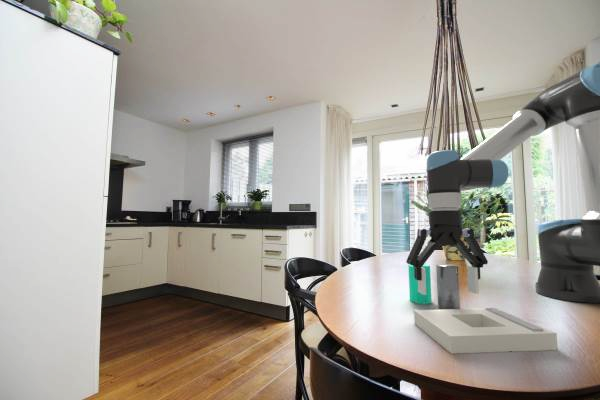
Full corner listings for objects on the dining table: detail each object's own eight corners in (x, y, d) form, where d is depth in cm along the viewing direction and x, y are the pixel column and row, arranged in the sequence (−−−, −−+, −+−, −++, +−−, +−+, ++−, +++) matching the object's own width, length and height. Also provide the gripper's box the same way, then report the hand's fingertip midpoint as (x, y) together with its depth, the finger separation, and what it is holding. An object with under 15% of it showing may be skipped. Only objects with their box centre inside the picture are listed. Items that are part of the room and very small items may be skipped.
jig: (498, 321, 63) (497, 306, 63) (557, 349, 49) (556, 330, 49) (414, 323, 62) (413, 308, 62) (451, 353, 48) (450, 333, 48)
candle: (434, 304, 76) (432, 261, 77) (411, 303, 77) (410, 260, 78) (428, 298, 82) (427, 258, 83) (407, 297, 83) (406, 257, 84)
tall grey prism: (452, 309, 71) (450, 263, 72) (465, 316, 66) (462, 267, 67) (434, 310, 71) (432, 264, 72) (445, 317, 66) (443, 267, 67)
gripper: (480, 210, 75) (484, 288, 73) (392, 210, 74) (394, 289, 72) (501, 209, 67) (506, 295, 66) (403, 209, 66) (406, 297, 65)
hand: (448, 292), depth 69 cm, fingers open, 13 cm apart
